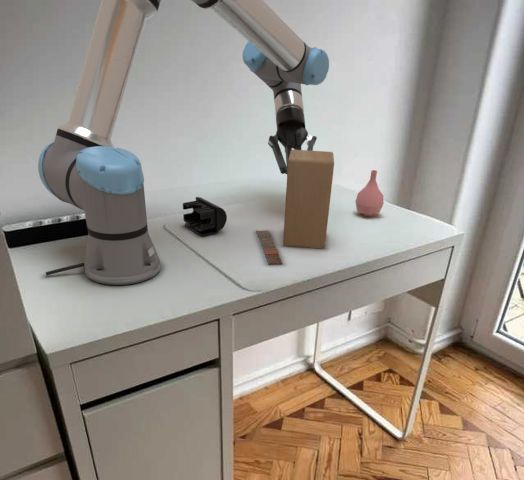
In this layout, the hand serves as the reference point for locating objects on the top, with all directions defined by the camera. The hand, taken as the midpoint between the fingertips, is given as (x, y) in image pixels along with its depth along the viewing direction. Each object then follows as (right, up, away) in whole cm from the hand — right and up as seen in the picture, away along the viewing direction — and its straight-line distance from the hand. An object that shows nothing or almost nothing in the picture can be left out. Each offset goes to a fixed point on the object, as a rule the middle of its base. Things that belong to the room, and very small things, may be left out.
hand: (298, 197), depth 128 cm
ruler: (-8, -15, -10) cm, 19 cm away
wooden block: (+1, -12, -5) cm, 13 cm away
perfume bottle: (+21, -1, +13) cm, 24 cm away
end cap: (-24, -9, -1) cm, 25 cm away
